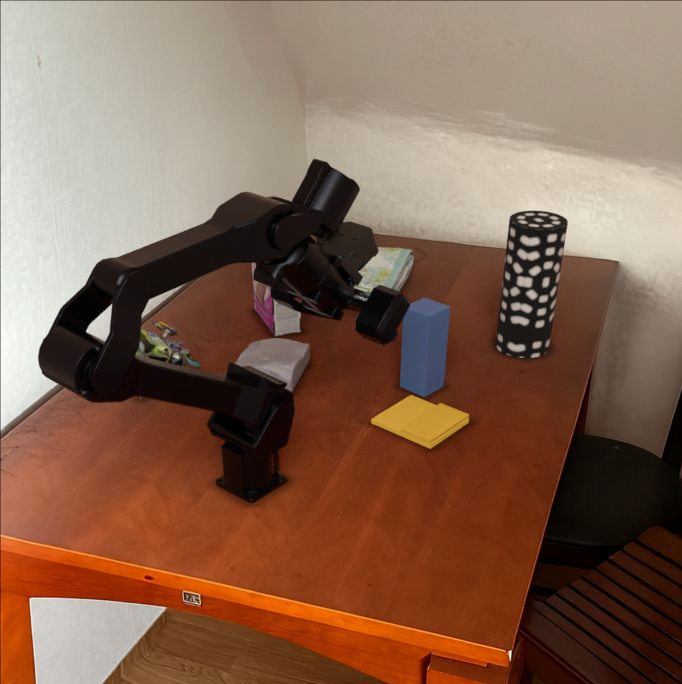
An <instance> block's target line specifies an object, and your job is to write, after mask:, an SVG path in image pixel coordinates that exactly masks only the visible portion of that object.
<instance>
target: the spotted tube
mask: <svg viewBox="0 0 682 684" xmlns="http://www.w3.org/2000/svg"><path fill="white" fill-rule="evenodd" d="M568 224H569V221H568V219H567V218H566V217H564V216H563V215H561V214H559V213H555V212H550V211H544V210H522V211H517V212H515V213H513V214H511V215H510V216H509V221H508V227H507V228H508V229H507V238H506V246H505V255H504V264H503V273H502V282H501V290H500V299H499V309H498V318H497V325H496V326H497V327H496V335H495V342H494V343H495V345H494V346H495V348H496V349H497V350H498V352H500V353H502V354H504V355H507V356H509V357H514V358H519V359H534V358H539V357H541V356H544V355H545V354H547V353H548V352H549V350H550V344H551V337H552V331H553V324H554V319H555V318H554V316H555V310H556V305H557V297H558V292H559V291H558V290H559V283H560V278H561V270H562V263H563V257H564V252H565V251H564V250H565V244H566V237H567V232H568V231H567V230H568Z"/></svg>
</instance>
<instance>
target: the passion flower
mask: <svg viewBox="0 0 682 684" xmlns="http://www.w3.org/2000/svg"><path fill="white" fill-rule="evenodd" d="M151 323H152V326H154V327H156V328H158V329H159V330H160V331H162V332H163V334H162V335H158V334H157V333H156V332H153V331H150V330H149V329H148V331H146V330H145V329H144V328H141V332H140V344H139V349H138V351H137V353H136V355H139V356H143V357H147V358H151V359H155V360H159V361H163V362H167V363H171V364H175V365H179V366H183V367H185V365H188V366H190V368H192V369H200V368H201V367H202V362H200V361H197V360H195V359H193V358H192V356H191V350H190V349H189V348H184V347H182V345H183V344H184V342H182V341H177V340H174V341H170V340H171V338H167V335H169V336H171V337H174V336H177V335H180V332H178V330H177V329H175V328H174V327H173V326H172V325H169V324H166V323H164V322H162V321H155V320H153V321H151ZM142 399H143V397H139V400H140V401H141V400H142Z"/></svg>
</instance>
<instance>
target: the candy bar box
mask: <svg viewBox="0 0 682 684" xmlns="http://www.w3.org/2000/svg"><path fill="white" fill-rule="evenodd" d="M255 267H256V264H255V263H251V277H252V292H253V295H252V296H253V309H254V311H255V312H256V314H257V315H258V316H259V318H260V320H262V322H263V323H264V325H265V326H266V327H267V328H268V330H269V331H270V332H271V334H272V335H273V337H283V336H288V335H293V334H300V333H302V313H300V312H298V311H295V310H293V309H290V308H288V307H286V306H283V305H281V304H278V303H277V302H276V301H275V300H274V299H272V298H271V292H270V286H267V285H265V284H262V283H260V282H257V281H255V280H254V279H253V274H254V269H255Z"/></svg>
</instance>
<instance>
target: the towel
mask: <svg viewBox="0 0 682 684" xmlns="http://www.w3.org/2000/svg"><path fill="white" fill-rule="evenodd" d="M378 250H379V252H378V254H377V255H376V256H375V257H373V258H372V259H371V260H370V261H369V262H368V263H367V264H366V265H365V266H364V267H363V268H362V269H361V270H360V271H358V272H359V273H360V274H361V275H362V276H363V278H362V280H361V282H360V284H359V285H358V286H356V285H355V286H354V288H356V289H359V290H361V291H364V292H367V293H371V292H372V290H373V288H374V287H377V286H379V285H383V286H386V287H389V288H391V289H394V290H397V291H400V292H401V289H402V288H403V286H404V285H405V283H406V282H407V280H408V278H409V276H410V274H411V272H412V269H413V266H414V263H415V255H414V250H413V249H410V248H403V247H387V246H386V247H385V246H384V247H383V246H382V247H381V246H378Z"/></svg>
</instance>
